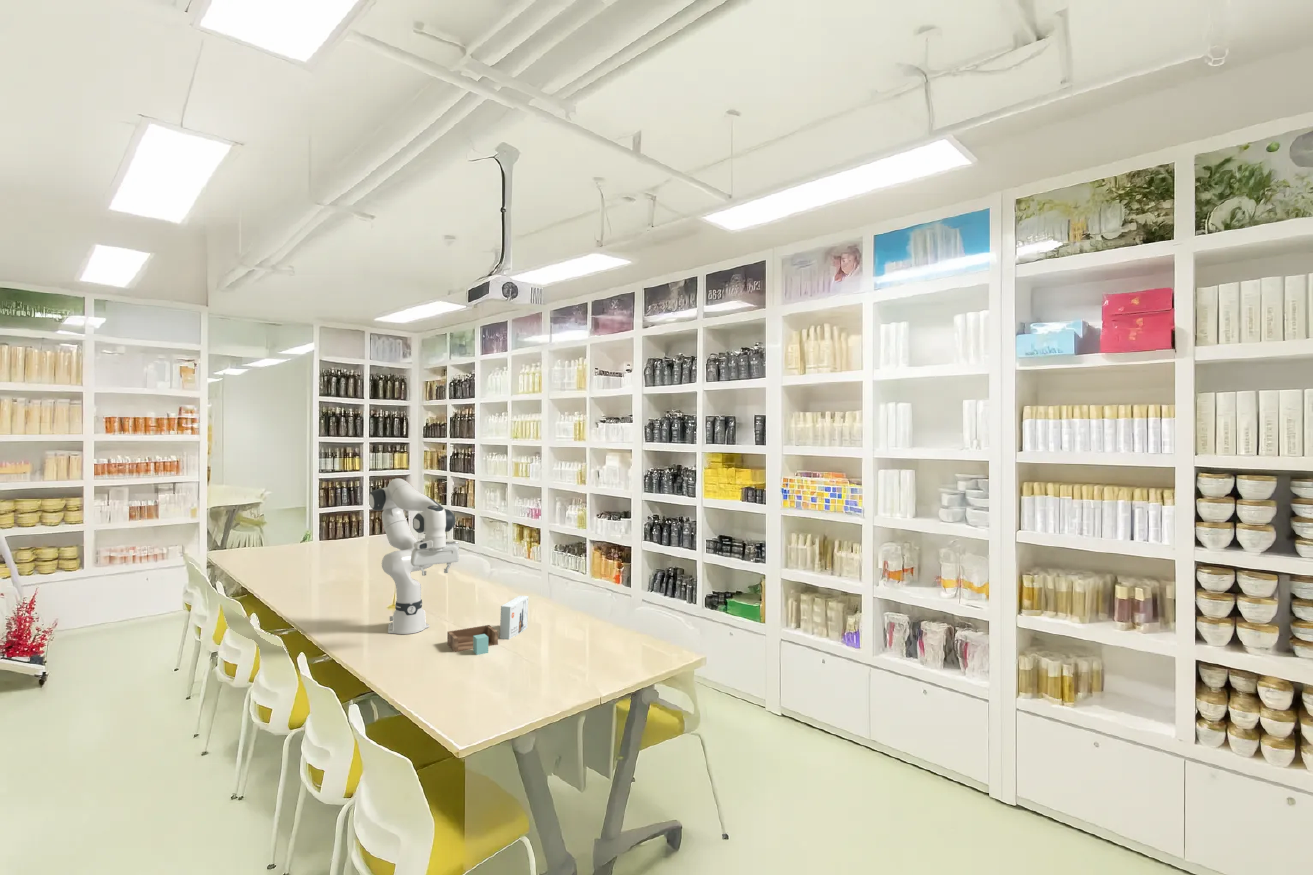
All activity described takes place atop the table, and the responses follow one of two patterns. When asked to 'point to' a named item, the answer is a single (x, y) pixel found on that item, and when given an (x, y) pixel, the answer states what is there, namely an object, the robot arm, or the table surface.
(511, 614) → the skincare box
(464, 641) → the open-fronted box
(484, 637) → the teal block
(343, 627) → the table surface
